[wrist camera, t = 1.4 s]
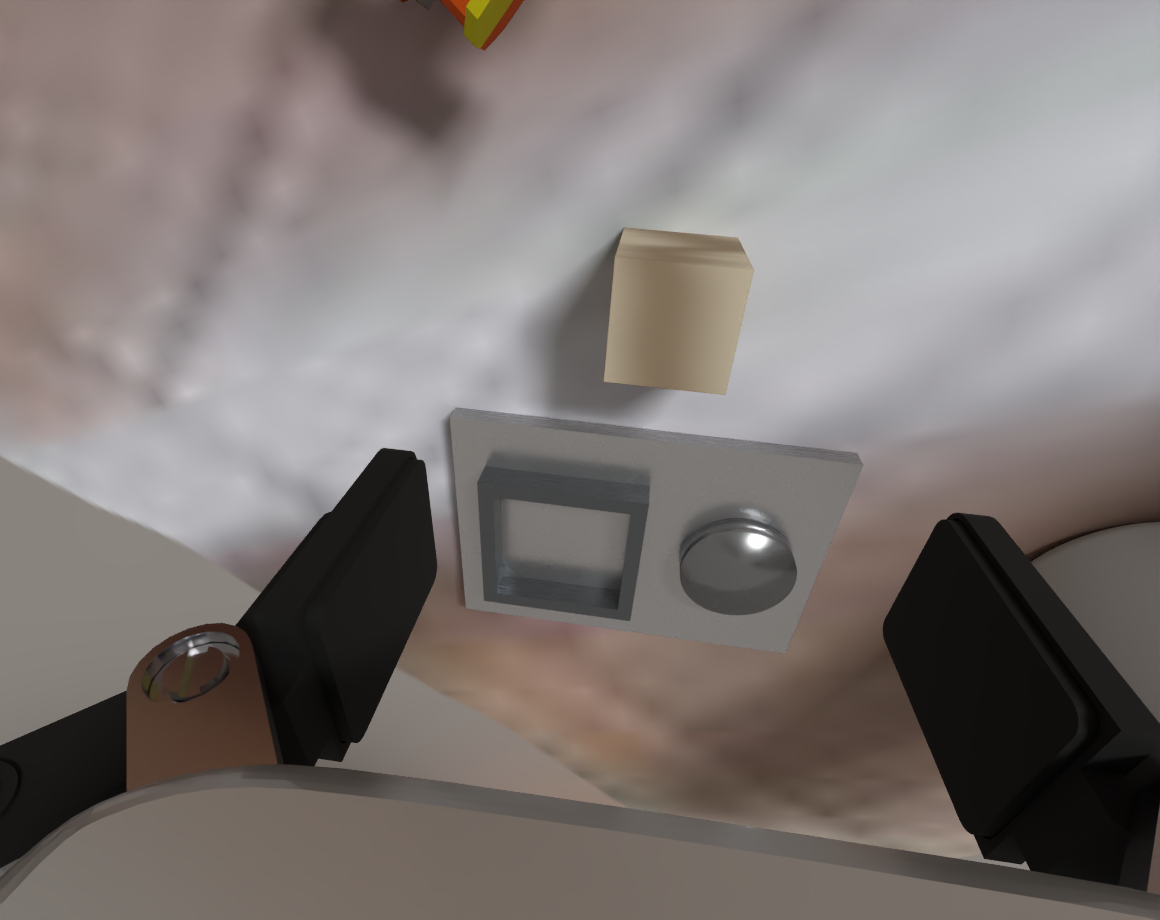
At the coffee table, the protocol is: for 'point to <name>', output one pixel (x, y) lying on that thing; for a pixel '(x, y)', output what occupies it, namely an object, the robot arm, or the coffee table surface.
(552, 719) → the coffee table surface
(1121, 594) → the cylinder vase
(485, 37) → the yellow toy car
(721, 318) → the block
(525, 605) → the carrier plate
